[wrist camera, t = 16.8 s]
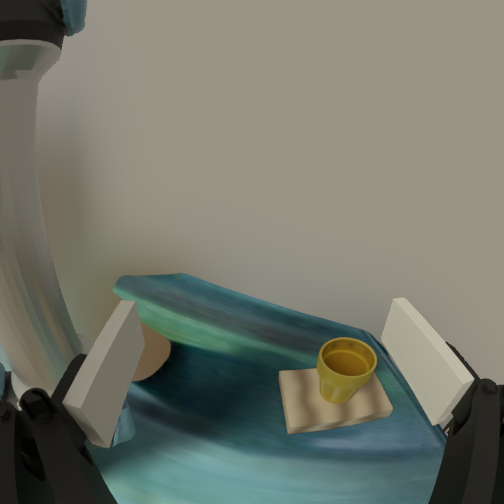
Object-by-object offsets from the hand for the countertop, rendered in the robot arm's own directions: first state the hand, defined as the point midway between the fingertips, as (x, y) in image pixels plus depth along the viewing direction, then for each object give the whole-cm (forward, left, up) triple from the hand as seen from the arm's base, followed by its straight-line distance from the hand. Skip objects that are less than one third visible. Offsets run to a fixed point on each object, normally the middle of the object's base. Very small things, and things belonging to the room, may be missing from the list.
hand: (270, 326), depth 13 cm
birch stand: (+17, +21, -35) cm, 44 cm away
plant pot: (+17, +21, -33) cm, 42 cm away
